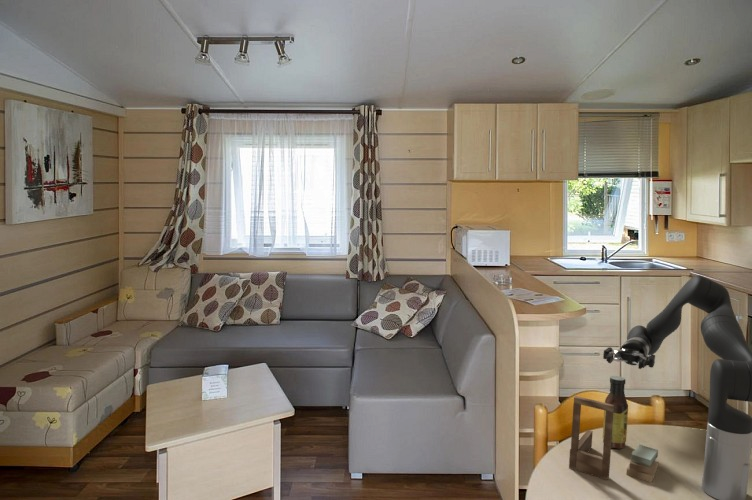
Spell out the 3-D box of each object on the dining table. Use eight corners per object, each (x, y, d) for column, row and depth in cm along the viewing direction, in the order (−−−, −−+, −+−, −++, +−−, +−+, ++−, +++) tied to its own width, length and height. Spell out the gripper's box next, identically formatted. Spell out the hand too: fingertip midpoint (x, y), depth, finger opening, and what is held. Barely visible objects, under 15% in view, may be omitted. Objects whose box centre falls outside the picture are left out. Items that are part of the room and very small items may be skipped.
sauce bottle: (628, 451, 155) (633, 383, 153) (604, 448, 156) (609, 381, 154) (622, 440, 162) (627, 375, 159) (600, 438, 163) (604, 373, 160)
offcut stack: (657, 468, 146) (659, 449, 146) (651, 483, 139) (653, 462, 138) (632, 461, 150) (634, 442, 149) (625, 475, 143) (626, 455, 142)
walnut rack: (621, 456, 152) (626, 388, 150) (607, 480, 140) (612, 406, 137) (585, 446, 158) (589, 380, 155) (568, 467, 146) (572, 397, 143)
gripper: (612, 335, 182) (600, 346, 169) (660, 343, 174) (651, 355, 161) (610, 357, 183) (598, 370, 169) (658, 366, 175) (649, 379, 161)
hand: (624, 362), depth 165 cm, fingers open, 8 cm apart
